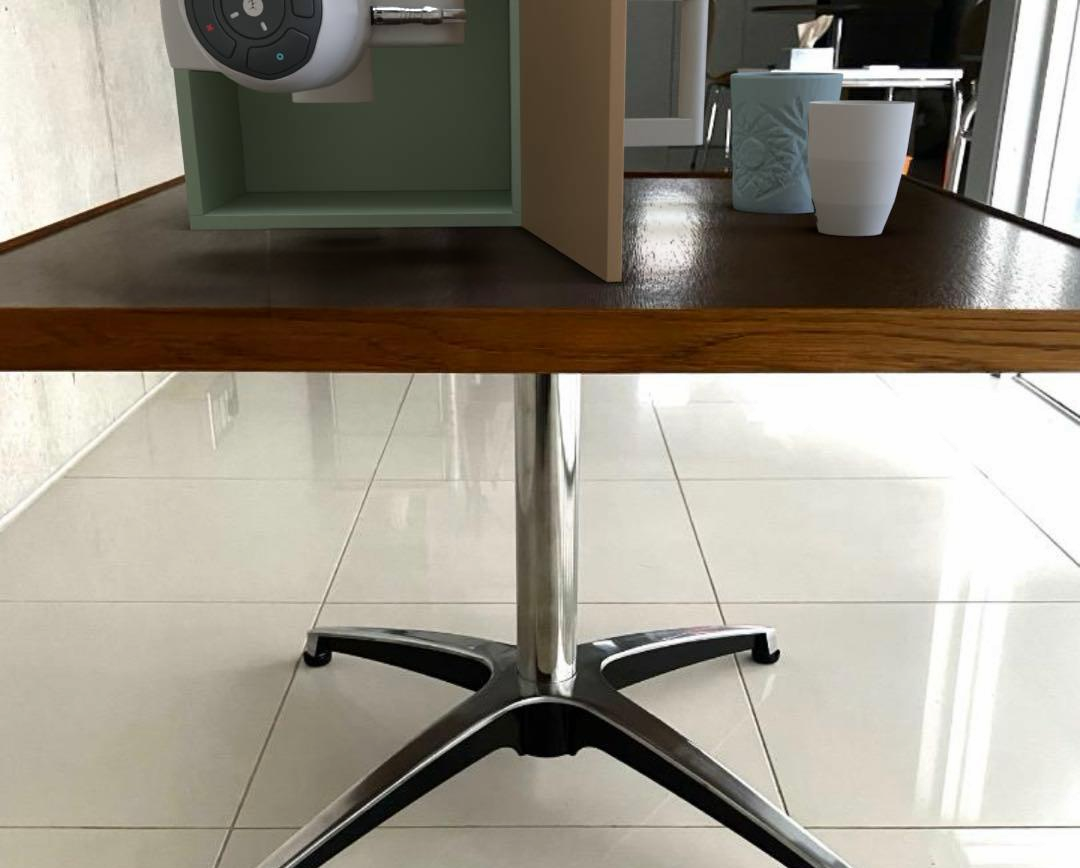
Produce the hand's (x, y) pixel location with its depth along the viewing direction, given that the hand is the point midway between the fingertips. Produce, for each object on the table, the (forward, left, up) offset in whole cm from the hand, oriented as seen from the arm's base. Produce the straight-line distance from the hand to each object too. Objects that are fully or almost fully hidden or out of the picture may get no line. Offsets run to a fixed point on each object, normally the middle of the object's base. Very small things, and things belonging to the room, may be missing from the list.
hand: (329, 21), depth 89 cm
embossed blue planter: (+43, -6, -16) cm, 47 cm away
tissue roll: (-1, -1, -5) cm, 6 cm away
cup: (+35, -21, -16) cm, 44 cm away
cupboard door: (+13, -16, -16) cm, 26 cm away
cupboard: (+11, +15, -16) cm, 24 cm away
